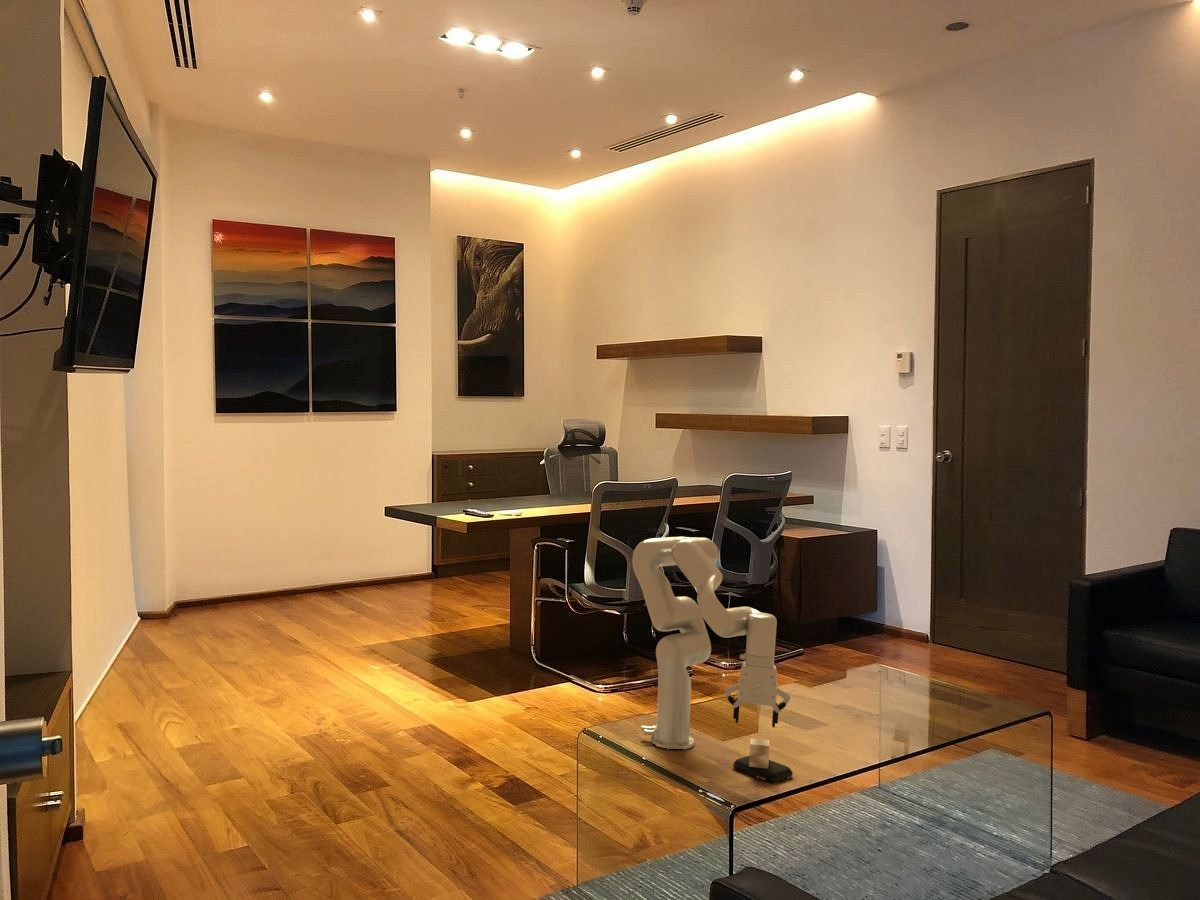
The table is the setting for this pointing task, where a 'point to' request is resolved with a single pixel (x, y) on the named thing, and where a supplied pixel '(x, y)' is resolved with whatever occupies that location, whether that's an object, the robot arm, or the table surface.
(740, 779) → the table surface
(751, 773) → the carrying case or bag
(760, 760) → the birch block
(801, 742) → the table surface
